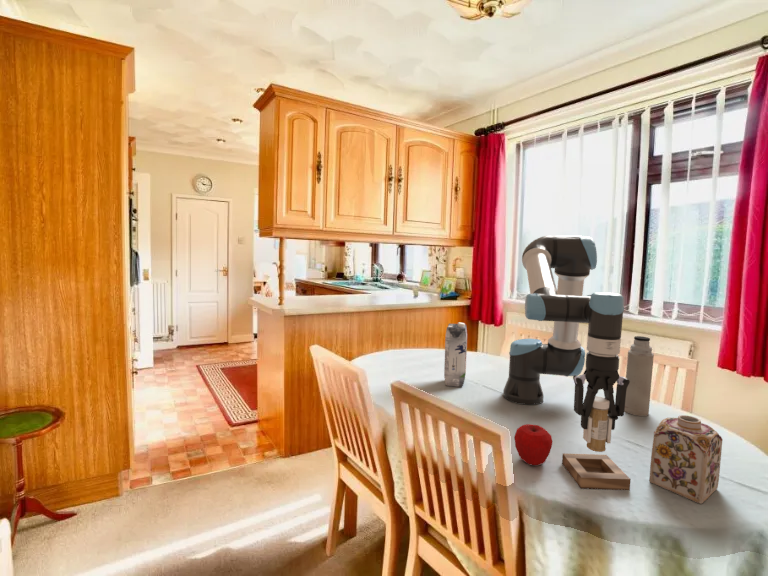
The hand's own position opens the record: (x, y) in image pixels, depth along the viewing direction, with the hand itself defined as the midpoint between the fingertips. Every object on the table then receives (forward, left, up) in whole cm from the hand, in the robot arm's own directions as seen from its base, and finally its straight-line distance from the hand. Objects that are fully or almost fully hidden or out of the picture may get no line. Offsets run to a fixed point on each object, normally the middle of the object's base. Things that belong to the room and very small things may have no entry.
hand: (596, 440), depth 108 cm
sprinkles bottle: (0, 0, -2) cm, 2 cm away
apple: (-6, -14, -10) cm, 19 cm away
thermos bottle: (-45, +36, -10) cm, 59 cm away
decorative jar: (+3, +21, -10) cm, 24 cm away
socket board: (0, 0, -10) cm, 10 cm away
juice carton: (-71, -27, -10) cm, 77 cm away
